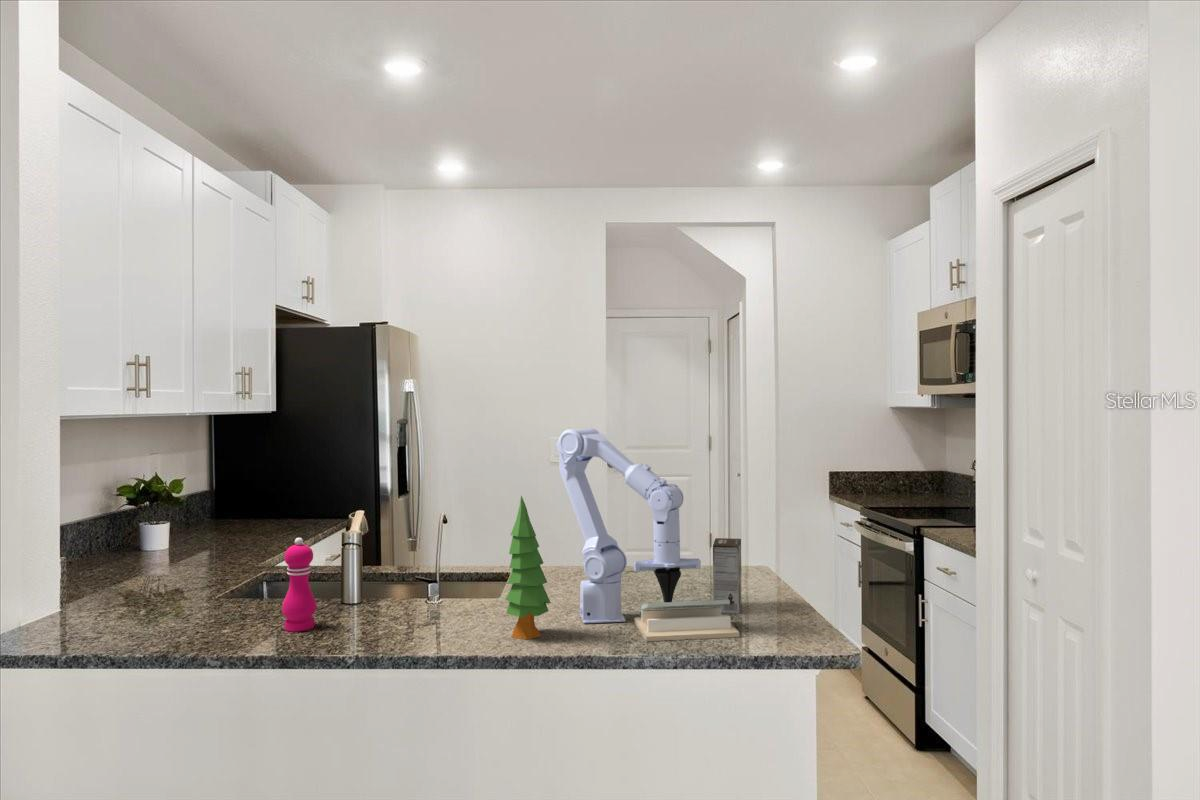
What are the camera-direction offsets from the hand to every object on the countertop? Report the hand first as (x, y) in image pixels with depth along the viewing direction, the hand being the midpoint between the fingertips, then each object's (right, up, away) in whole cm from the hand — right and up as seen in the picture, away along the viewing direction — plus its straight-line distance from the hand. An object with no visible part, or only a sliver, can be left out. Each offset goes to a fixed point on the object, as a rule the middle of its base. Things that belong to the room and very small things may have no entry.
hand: (667, 602), depth 177 cm
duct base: (+4, -6, 0) cm, 7 cm away
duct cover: (+4, -1, 0) cm, 4 cm away
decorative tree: (-30, -6, -4) cm, 31 cm away
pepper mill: (-81, -6, +2) cm, 82 cm away
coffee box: (+16, -6, +17) cm, 24 cm away
